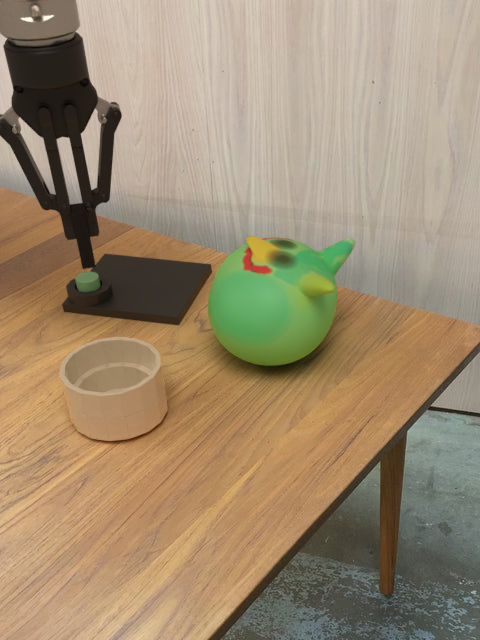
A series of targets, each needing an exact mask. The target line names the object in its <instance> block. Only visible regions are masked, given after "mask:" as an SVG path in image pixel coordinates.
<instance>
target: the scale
mask: <svg viewBox="0 0 480 640" xmlns="http://www.w3.org/2000/svg"><path fill="white" fill-rule="evenodd" d="M95 266H96V267H94V268H90V271H89V272H95V273H97V274H98V275H99V280H100V288H99V289H97V290H95V291H90V292H81V291H79V290H78V289H77V285H76V280H75V278H76V277H75V278H72V279H71V280H69V281H68V283H67V284H66V285H65V289H66V293H67V297H66V298H65V300H64V301H63V302H62V304H61V306H62V310H63V312H64V313H70V314H77V315H84V316H85V315H86V316H94V317H104V318H111V319H112V318H113V319H120V320H127V321H128V320H130V321H136V322H145V323H154V324H163V325H170V326H180V325H181V323H182V321H183V320H184V318H185V317H186V315H187V314H188V311H189V310H190V309H191V307H192V306H193V304H194V302H195V300H196V299H197V297H198V296H199V294H200V293H201V291H202V290H203V288H204V286H205V284H206V283H207V281H208V279H209V278H210V276H211V275H212V273H213V270H212V264H211V263H204V262H202V263H201V262H195V261H194V262H193V261H182V260H174V259H173V260H172V259H165V258H163V259H162V258H154V257H143V256H135V255H134V256H133V255H122V254H113V253H103V255H102V256H101V258H99V260H97V262H95Z"/></svg>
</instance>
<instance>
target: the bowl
mask: <svg viewBox="0 0 480 640" xmlns="http://www.w3.org/2000/svg"><path fill="white" fill-rule="evenodd" d="M59 380H60V383H61V387H62V392H63V395H64V399H65V403H66V407H67V411H68V415H69V419H70V421H71V423H72V425H73V426H74V427H75V429H76V431H77V432H78V433H80V434H82V435H84V436H86V437H88V438H89V439H92V440H99V441H105V442H114V441H124V440H130V439H132V438H136V437H139V436H141V435H144V434H147V433H149V432H150V431H152V430H153V429H154V428H155V427H156V426H158V425H159V424H161V423H162V421H163V419H164V418H165V416H166V414H167V413H168V410H169V408H168V397H167V390H166V383H165V376H164V369H163V363H162V356H161V353H160V352H159V351H158V350H157V349H156V347H155V346H154V344H151V343H149V342H146V341H145V340H142V339H140V338H136V337H127V336H112V337H102V338H98V339H96V340H92V341H90V342H86V343H83V344H81V345H80V346H78V347H76V348H75V349H74V350H72V351H70V352H69V353H68V354H67V355H66V357H64V358H63V360H62V361H61V362H60V365H59Z"/></svg>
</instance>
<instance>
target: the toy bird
mask: <svg viewBox="0 0 480 640" xmlns="http://www.w3.org/2000/svg"><path fill="white" fill-rule="evenodd" d="M245 241H246V243H245V244H242V245H240V246H239V247H238V248H236V249H235V250H233V251H232V252H231V253H230V254H229V255H228V256H227V257H225V259H224V260H223V261H222V263H221V264H220V265H219V267H218V269H217V271H216V273H215V274H214V277H213V279H212V282H211V285H210V288H209V293H208V299H207V313H208V314H207V315H208V319H209V324H210V326H211V330H212V331H213V334H214V336H215V337H216V339H217V340H218V342H219V344H220V345H222V347H223V348H225V350H226V351H228V352H229V353H230V354H231V355H233V356H234V357H237V358H239V360H242V361H245V362H247V363H250V364H253V365H258V366H265V367H266V366H267V367H269V366H270V367H272V366H273V367H275V366H284V365H287V364H288V365H289V364H292V363H295V362H297V361H300V360H302V359H304V358H305V357H307V356H308V355H309V354H311V353H312V352H313V351H314V350H315V349H317V348H318V347H319V346H320V344H322V343H323V341H324V340H325V338H326V337H327V335H328V333H329V331H330V329H331V328H332V325H333V322H334V320H335V316H336V313H337V308H338V307H337V306H338V287H337V282H336V276H337V274H338V272H339V271H340V269H341V268H342V266H343V265H344V264H345V262H346V261H347V260H348V258H349V256H350V255H351V254H352V252H353V250H354V248H355V246H356V240H355V239H354V238H353V237H348V238H343V239H342V240H340V241H338V242H336V243H334V244H332V245H329V246H328V247H326V248H323V249H322V250H319V251H316V250H315V249H314V248H312V247H311V246H309V245H307V244H305V243H303V242H301V241H298V240H295V239H292V238H287V237H286V238H285V237H264V238H260V237H257V236H255V235H249V236H247V237H246V239H245Z"/></svg>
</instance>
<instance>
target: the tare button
mask: <svg viewBox="0 0 480 640" xmlns="http://www.w3.org/2000/svg"><path fill="white" fill-rule="evenodd" d="M75 280H76V285H77V289H78V290H79V291H81V292H90V291H95V290H97V289H99V288H100V280H99V275H98V274H97V273H95V272H90V271H84V272H79V273H78V274H77V275H76V276H75Z"/></svg>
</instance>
